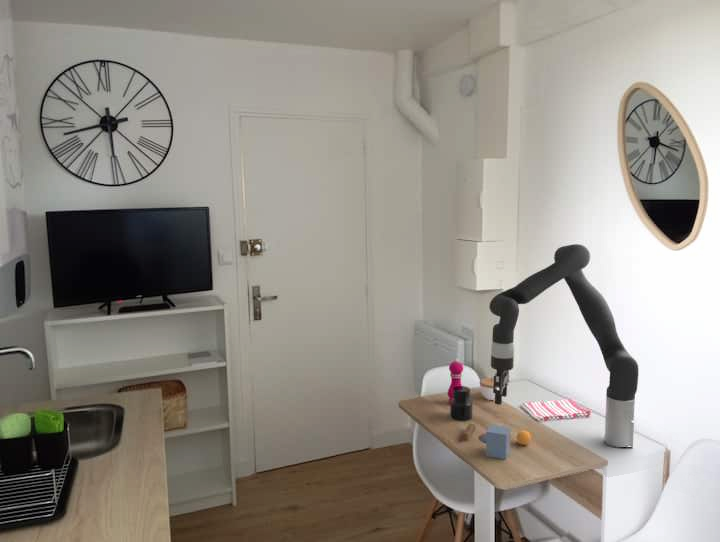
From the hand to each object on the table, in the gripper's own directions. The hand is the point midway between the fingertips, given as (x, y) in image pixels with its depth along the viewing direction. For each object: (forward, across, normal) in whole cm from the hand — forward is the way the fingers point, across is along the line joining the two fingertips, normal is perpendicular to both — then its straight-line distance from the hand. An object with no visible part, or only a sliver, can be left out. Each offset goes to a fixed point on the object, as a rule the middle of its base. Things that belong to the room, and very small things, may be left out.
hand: (500, 400), depth 194 cm
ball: (+16, +10, -7) cm, 20 cm away
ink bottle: (+19, +25, +20) cm, 38 cm away
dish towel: (+19, +46, -13) cm, 52 cm away
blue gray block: (+19, -1, 0) cm, 19 cm away
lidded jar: (+19, +52, +14) cm, 57 cm away
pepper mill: (+19, +39, +27) cm, 51 cm away
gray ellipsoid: (+19, +10, +5) cm, 22 cm away
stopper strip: (+19, +10, +13) cm, 25 cm away
